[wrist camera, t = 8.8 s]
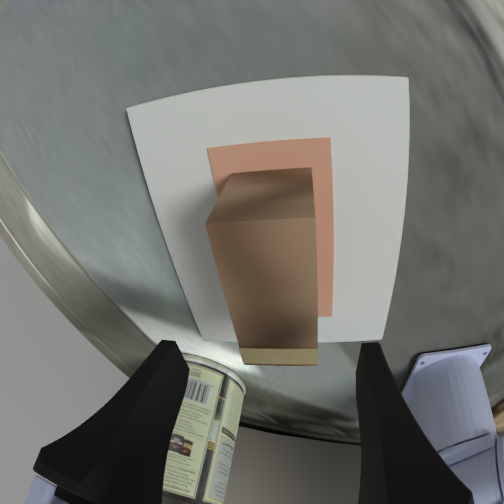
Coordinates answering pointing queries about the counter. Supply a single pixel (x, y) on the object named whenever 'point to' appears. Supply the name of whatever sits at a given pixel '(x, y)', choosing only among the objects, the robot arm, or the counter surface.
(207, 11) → the counter surface
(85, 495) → the robot arm
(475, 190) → the counter surface
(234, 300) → the walnut block
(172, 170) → the mat
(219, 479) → the coffee can
